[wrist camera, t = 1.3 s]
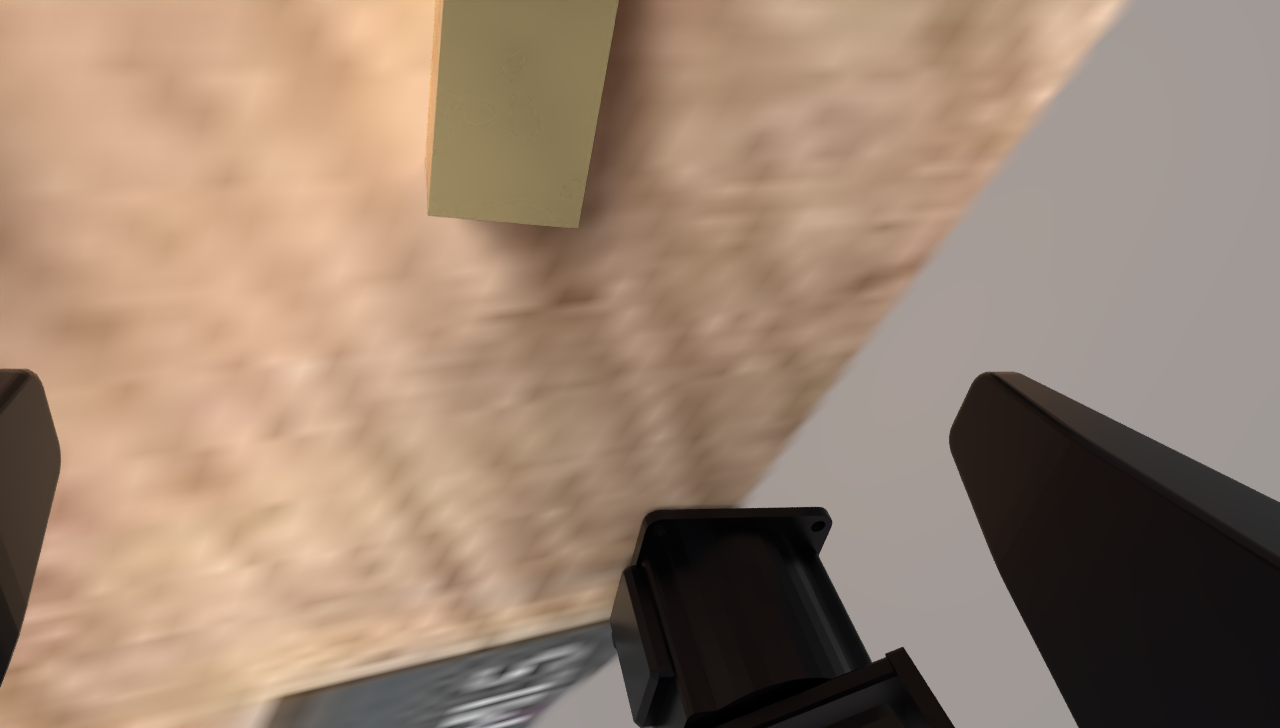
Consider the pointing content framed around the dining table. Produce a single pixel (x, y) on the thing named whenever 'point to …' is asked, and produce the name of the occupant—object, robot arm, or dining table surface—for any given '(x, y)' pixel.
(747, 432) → the dining table surface
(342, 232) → the dining table surface
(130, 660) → the dining table surface
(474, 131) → the wooden block
